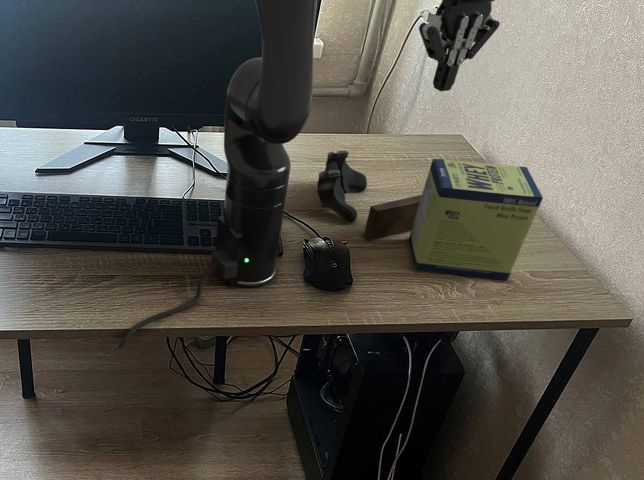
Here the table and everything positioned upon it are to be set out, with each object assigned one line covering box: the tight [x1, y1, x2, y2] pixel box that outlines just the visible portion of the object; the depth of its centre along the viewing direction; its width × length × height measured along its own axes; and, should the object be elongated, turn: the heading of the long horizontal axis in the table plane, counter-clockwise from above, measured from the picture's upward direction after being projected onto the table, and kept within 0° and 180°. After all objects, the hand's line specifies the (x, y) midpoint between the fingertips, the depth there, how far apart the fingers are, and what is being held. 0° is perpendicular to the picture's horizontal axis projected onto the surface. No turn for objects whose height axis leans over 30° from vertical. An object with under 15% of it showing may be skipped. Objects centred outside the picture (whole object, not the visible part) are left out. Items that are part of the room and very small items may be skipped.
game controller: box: [316, 150, 368, 224], centre depth 131 cm, size 16×7×10 cm, turn 161°
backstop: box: [363, 194, 422, 241], centre depth 125 cm, size 20×2×6 cm, turn 115°
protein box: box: [408, 158, 544, 281], centre depth 115 cm, size 10×16×16 cm
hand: (441, 89), depth 103 cm, fingers closed
